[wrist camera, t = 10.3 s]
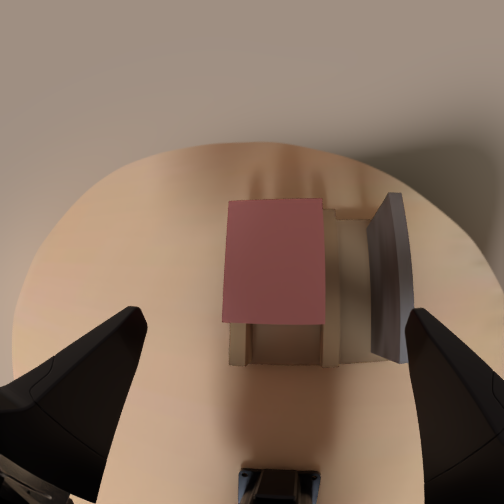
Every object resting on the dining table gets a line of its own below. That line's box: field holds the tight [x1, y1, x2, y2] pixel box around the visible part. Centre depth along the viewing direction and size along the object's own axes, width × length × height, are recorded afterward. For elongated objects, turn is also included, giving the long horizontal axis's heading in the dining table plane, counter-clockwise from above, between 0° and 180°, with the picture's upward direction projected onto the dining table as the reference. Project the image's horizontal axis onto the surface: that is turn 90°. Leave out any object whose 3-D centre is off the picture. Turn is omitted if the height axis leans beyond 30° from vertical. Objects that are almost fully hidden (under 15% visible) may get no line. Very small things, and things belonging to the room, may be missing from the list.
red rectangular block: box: [222, 198, 325, 325], centre depth 14 cm, size 4×4×10 cm
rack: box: [229, 193, 414, 368], centre depth 16 cm, size 10×12×7 cm
